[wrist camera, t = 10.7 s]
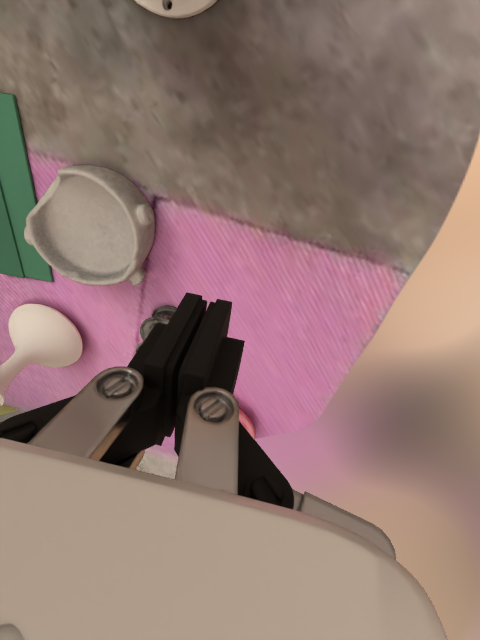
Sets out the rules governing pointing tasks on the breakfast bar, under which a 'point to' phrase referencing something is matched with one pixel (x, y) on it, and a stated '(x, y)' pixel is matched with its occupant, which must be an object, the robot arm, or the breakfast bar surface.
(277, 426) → the breakfast bar surface
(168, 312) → the salt shaker
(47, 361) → the flower in vase
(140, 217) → the dish
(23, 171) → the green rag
